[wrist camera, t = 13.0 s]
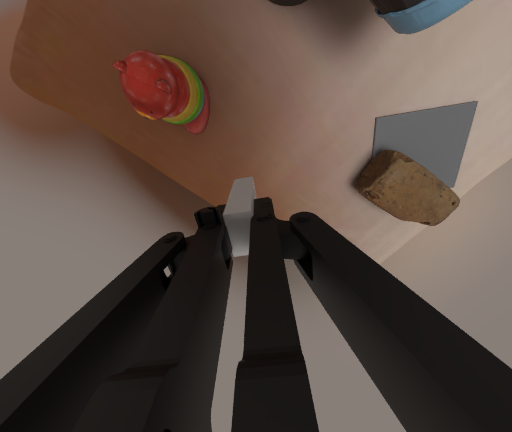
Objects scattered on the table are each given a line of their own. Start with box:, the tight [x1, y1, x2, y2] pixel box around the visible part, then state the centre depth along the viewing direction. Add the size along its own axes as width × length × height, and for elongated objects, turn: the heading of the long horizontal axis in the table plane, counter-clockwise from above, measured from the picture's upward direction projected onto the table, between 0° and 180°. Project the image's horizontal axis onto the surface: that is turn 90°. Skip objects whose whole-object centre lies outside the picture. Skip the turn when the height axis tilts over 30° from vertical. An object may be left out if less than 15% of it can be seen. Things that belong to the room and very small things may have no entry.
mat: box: [372, 101, 478, 188], centre depth 44 cm, size 18×20×1 cm
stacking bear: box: [113, 50, 210, 134], centre depth 31 cm, size 11×10×18 cm
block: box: [356, 150, 460, 226], centre depth 44 cm, size 11×8×20 cm
